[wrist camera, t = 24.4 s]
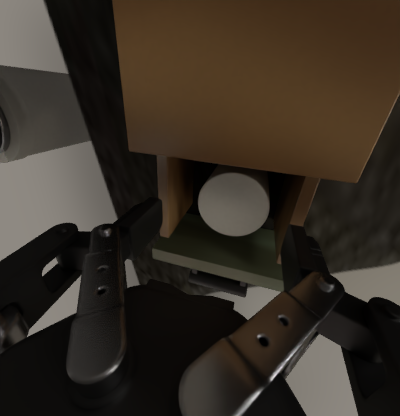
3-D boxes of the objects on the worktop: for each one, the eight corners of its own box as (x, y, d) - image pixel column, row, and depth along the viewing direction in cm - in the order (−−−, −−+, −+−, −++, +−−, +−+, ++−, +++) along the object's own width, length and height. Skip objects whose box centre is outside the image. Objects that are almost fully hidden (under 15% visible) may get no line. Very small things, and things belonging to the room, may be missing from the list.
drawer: (270, 267, 24) (273, 330, 18) (182, 246, 27) (155, 295, 20) (327, 93, 15) (374, 89, 9) (186, 84, 18) (139, 76, 11)
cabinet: (315, 145, 18) (357, 184, 10) (182, 130, 21) (128, 151, 12) (408, -134, 11) (850, -845, 3) (186, -102, 13) (65, -409, 5)
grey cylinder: (211, 200, 21) (195, 229, 16) (215, 150, 19) (199, 167, 14) (262, 209, 20) (261, 243, 15) (274, 157, 17) (278, 178, 13)
